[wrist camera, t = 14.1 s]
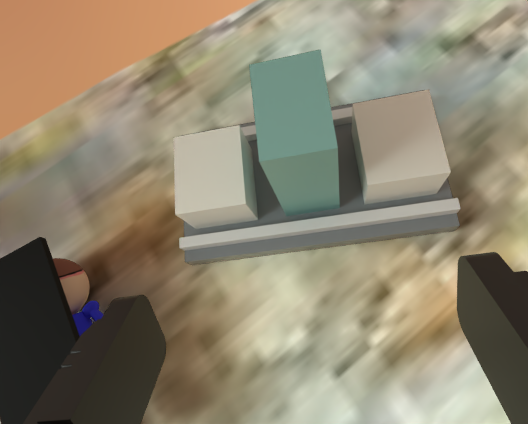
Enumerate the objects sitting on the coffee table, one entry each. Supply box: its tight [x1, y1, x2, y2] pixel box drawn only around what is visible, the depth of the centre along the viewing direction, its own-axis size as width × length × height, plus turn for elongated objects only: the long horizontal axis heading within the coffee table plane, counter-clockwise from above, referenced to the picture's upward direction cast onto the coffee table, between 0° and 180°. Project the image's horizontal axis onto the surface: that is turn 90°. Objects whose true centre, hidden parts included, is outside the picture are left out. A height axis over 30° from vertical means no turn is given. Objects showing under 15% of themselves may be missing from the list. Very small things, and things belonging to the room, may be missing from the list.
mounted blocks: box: [174, 90, 451, 229], centre depth 28 cm, size 18×6×4 cm, turn 95°
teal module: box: [249, 50, 340, 216], centre depth 25 cm, size 4×6×10 cm, turn 6°
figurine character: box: [0, 237, 103, 424], centre depth 28 cm, size 7×8×15 cm
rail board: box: [179, 90, 461, 265], centre depth 30 cm, size 20×11×2 cm, turn 95°
